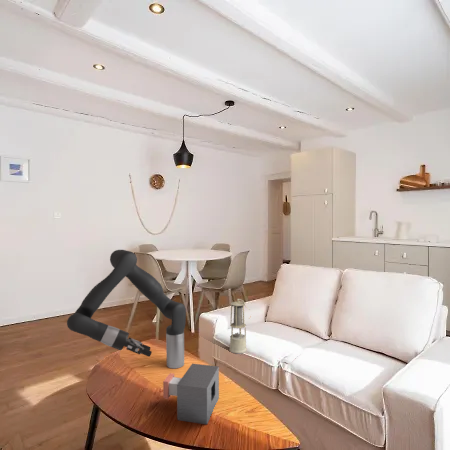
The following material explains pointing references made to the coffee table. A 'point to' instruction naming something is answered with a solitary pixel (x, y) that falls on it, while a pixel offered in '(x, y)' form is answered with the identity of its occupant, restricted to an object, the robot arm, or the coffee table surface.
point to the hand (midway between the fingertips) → (150, 351)
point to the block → (198, 393)
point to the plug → (170, 386)
